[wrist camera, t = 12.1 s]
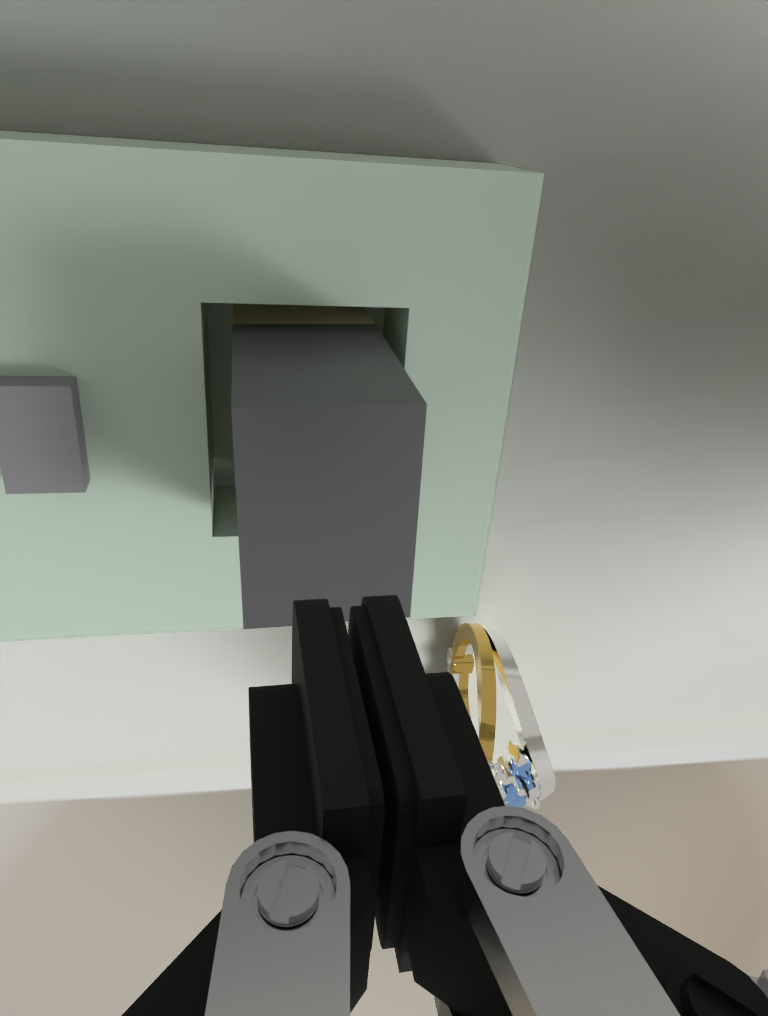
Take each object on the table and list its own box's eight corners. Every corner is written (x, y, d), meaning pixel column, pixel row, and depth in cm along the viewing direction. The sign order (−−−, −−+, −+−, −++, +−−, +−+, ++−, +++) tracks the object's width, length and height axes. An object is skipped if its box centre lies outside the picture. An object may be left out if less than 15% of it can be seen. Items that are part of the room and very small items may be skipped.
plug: (362, 303, 23) (427, 404, 15) (357, 462, 26) (410, 617, 18) (232, 302, 22) (231, 407, 14) (241, 465, 25) (243, 629, 17)
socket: (496, 163, 22) (556, 175, 18) (446, 554, 29) (482, 630, 25) (-84, 124, 19) (-172, 129, 15) (9, 571, 26) (-35, 660, 22)
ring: (432, 585, 29) (493, 732, 22) (507, 584, 30) (588, 727, 23) (409, 714, 33) (456, 878, 26) (478, 711, 33) (541, 870, 26)
